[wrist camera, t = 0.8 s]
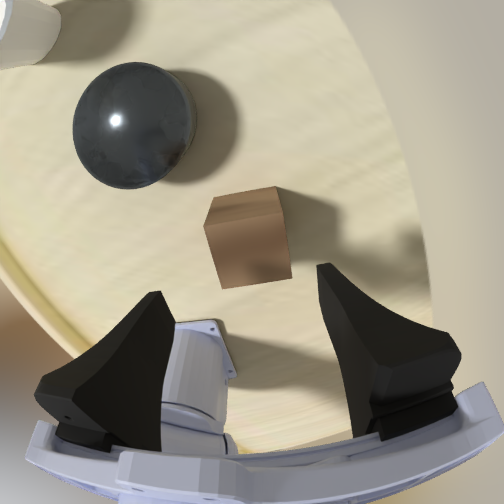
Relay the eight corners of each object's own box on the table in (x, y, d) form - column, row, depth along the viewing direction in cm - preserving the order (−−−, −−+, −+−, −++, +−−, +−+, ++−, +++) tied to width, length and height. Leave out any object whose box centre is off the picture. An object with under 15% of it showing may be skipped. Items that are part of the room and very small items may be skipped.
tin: (211, 161, 19) (204, 171, 16) (110, 188, 19) (92, 202, 17) (186, 51, 15) (175, 43, 12) (84, 91, 15) (61, 93, 13)
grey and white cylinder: (62, -13, 9) (12, -30, 3) (74, 41, 13) (15, 32, 7) (9, 33, 10) (-43, 33, 4) (19, 86, 14) (-38, 97, 8)
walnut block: (283, 240, 22) (292, 278, 17) (227, 250, 22) (222, 289, 18) (275, 185, 20) (282, 212, 15) (213, 197, 20) (203, 226, 16)
